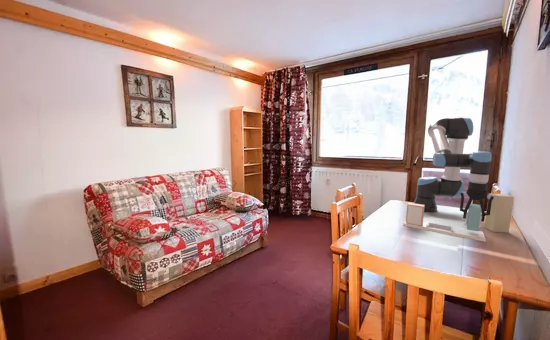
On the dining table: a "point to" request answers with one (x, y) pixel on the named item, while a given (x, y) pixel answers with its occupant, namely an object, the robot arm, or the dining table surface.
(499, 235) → the dining table surface
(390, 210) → the dining table surface
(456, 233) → the shelf
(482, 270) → the dining table surface
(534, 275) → the dining table surface
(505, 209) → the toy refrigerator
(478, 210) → the teal carton
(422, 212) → the terracotta carton
